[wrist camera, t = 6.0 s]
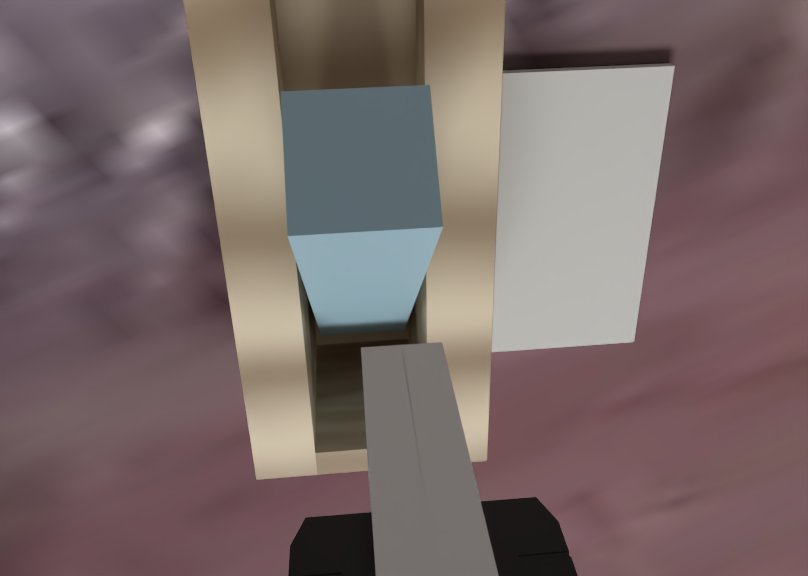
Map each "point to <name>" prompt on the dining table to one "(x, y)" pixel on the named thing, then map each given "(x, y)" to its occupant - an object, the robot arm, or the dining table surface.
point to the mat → (575, 202)
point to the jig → (267, 221)
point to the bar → (361, 201)
